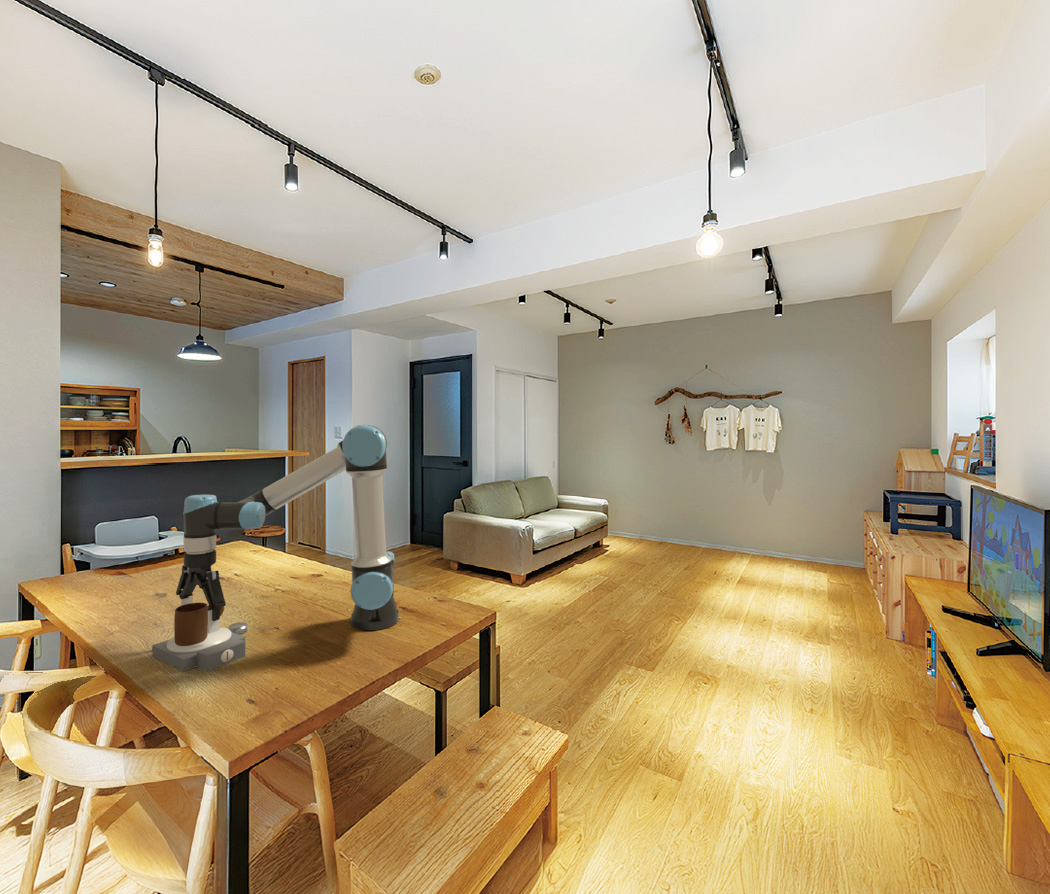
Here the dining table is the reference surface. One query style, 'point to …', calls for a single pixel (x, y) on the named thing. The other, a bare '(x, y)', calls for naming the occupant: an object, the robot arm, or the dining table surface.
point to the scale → (202, 651)
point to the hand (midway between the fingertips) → (199, 626)
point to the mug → (191, 623)
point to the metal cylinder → (238, 628)
